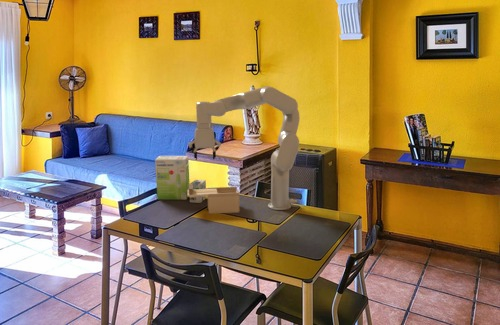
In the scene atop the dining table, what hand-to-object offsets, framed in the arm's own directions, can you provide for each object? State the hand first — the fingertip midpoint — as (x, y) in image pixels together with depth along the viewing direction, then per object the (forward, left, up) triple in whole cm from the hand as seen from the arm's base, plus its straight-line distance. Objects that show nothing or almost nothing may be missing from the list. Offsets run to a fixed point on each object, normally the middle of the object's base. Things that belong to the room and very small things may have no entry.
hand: (205, 159), depth 216 cm
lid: (+2, 0, -19) cm, 19 cm away
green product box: (+18, -25, -28) cm, 42 cm away
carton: (-9, 0, -28) cm, 29 cm away
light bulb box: (+4, -18, -28) cm, 34 cm away
